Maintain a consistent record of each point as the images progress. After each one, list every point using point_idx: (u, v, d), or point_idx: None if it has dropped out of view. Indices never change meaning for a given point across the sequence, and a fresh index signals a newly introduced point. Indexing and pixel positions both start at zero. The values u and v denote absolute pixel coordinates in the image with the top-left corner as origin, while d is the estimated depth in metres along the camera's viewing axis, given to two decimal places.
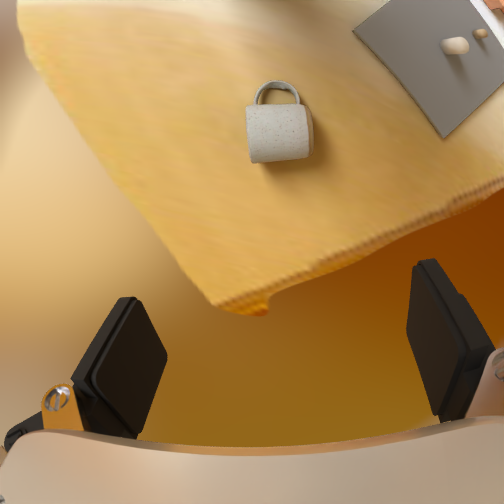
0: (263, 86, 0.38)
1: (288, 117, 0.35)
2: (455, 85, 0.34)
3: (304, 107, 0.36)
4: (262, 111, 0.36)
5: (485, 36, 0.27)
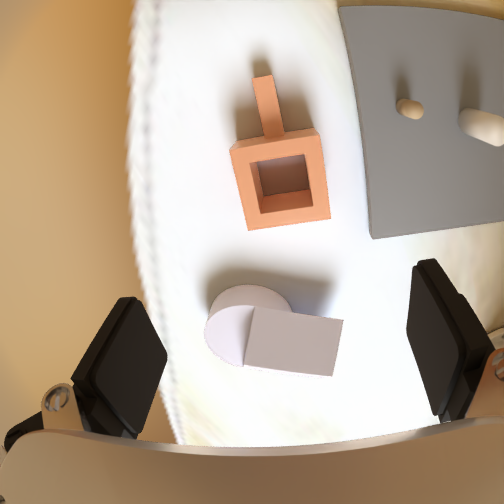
0: None
1: None
2: (489, 66, 0.18)
3: None
4: None
5: (416, 103, 0.19)
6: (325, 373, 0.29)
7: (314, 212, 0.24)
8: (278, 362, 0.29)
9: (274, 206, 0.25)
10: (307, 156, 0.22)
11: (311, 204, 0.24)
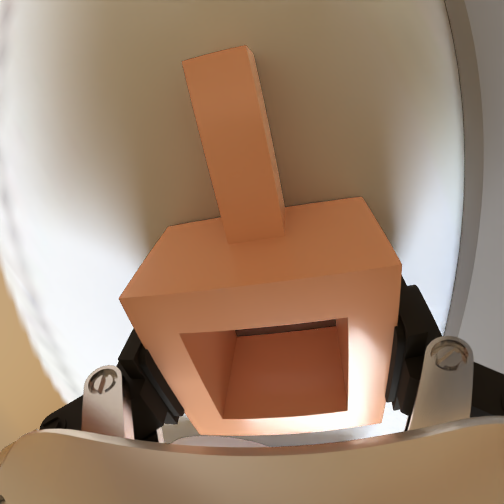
0: None
1: None
2: None
3: None
4: None
5: None
6: None
7: (347, 418, 0.09)
8: None
9: (255, 393, 0.10)
10: (353, 323, 0.07)
11: (342, 400, 0.09)
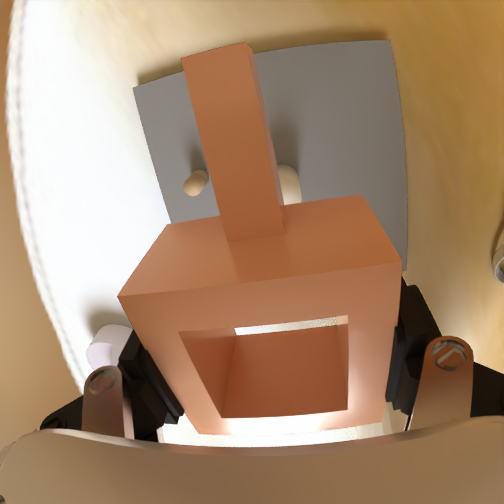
0: None
1: None
2: (311, 109, 0.22)
3: None
4: None
5: (192, 180, 0.23)
6: None
7: (347, 417, 0.09)
8: None
9: (254, 392, 0.10)
10: (353, 321, 0.07)
11: (342, 400, 0.09)
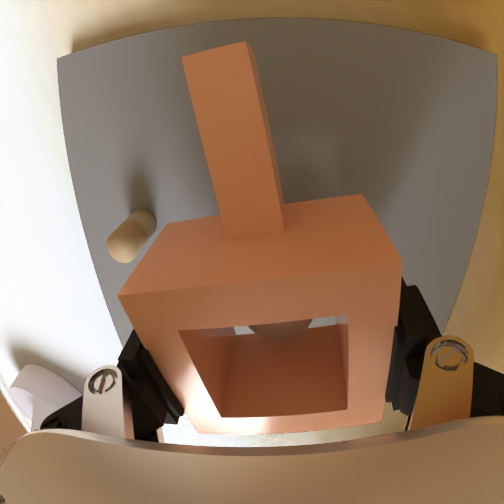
0: None
1: None
2: (354, 137, 0.12)
3: None
4: None
5: (121, 238, 0.12)
6: None
7: (347, 417, 0.09)
8: None
9: (254, 391, 0.10)
10: (353, 320, 0.07)
11: (342, 399, 0.09)
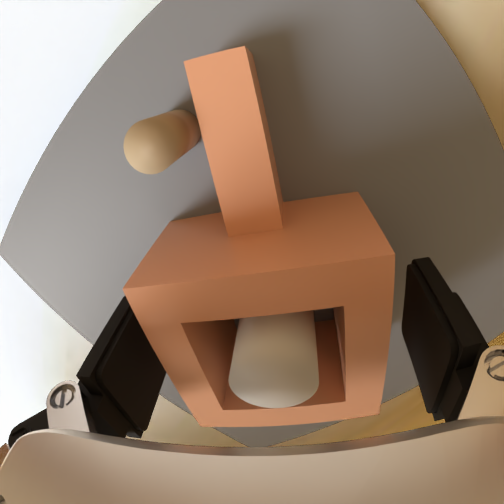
0: None
1: None
2: None
3: None
4: None
5: (165, 138, 0.07)
6: None
7: (345, 409, 0.09)
8: None
9: None
10: (349, 312, 0.07)
11: (340, 391, 0.09)
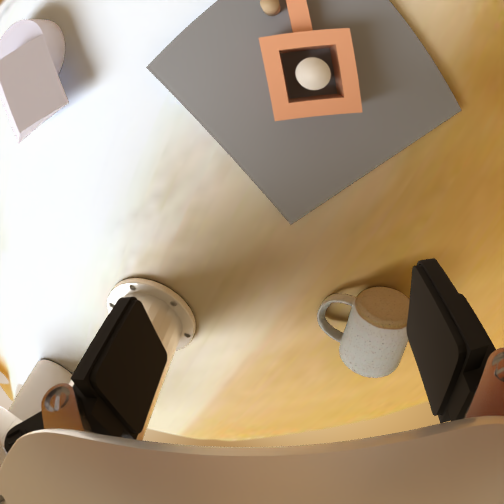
0: (322, 325, 0.36)
1: (365, 341, 0.30)
2: (379, 69, 0.22)
3: (358, 314, 0.31)
4: (350, 355, 0.33)
5: (275, 0, 0.18)
6: (18, 124, 0.22)
7: (345, 104, 0.20)
8: (7, 83, 0.20)
9: (302, 100, 0.22)
10: (337, 47, 0.18)
11: (341, 97, 0.20)
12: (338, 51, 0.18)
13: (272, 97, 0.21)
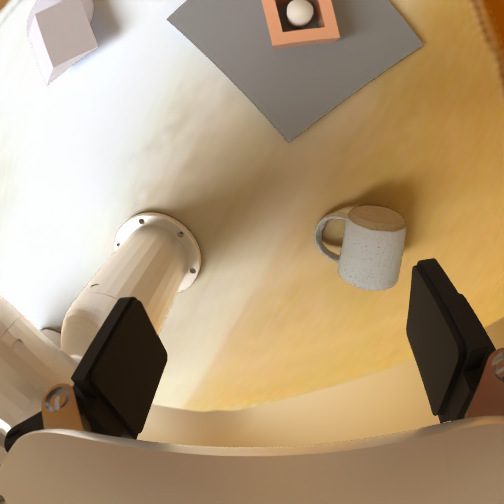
0: (319, 247, 0.39)
1: (362, 248, 0.33)
2: (352, 15, 0.25)
3: (352, 222, 0.34)
4: (349, 267, 0.35)
5: None
6: (53, 61, 0.25)
7: (326, 32, 0.24)
8: (46, 29, 0.23)
9: None
10: None
11: None
12: None
13: (270, 28, 0.24)
